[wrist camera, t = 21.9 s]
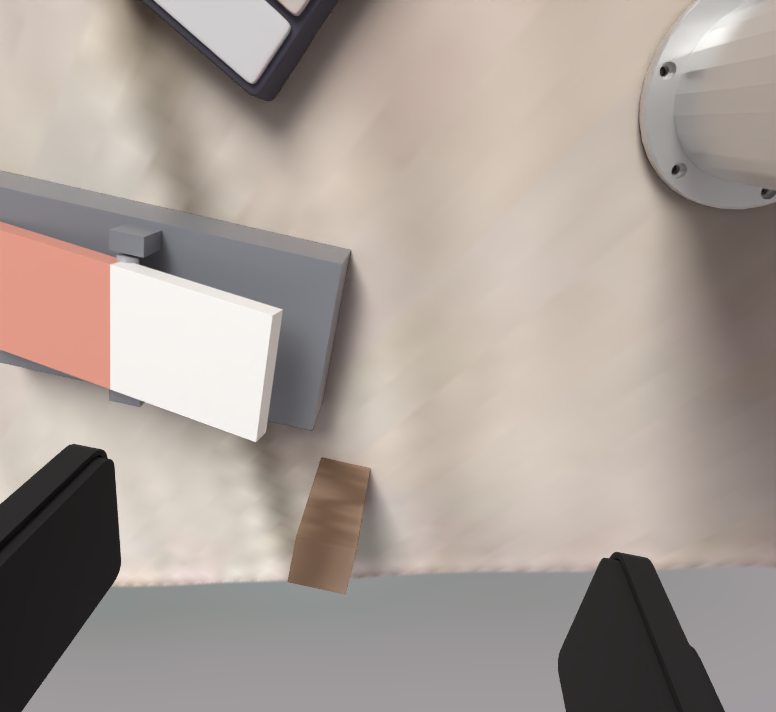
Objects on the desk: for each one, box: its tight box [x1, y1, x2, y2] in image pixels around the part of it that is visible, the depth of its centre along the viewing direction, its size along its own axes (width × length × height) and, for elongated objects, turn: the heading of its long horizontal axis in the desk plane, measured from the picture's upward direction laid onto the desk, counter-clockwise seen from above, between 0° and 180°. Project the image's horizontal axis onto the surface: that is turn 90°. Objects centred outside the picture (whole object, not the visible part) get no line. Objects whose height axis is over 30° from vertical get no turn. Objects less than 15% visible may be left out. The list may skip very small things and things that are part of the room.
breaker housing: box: [0, 171, 351, 431], centre depth 35 cm, size 24×12×6 cm, turn 78°
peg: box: [288, 458, 370, 594], centre depth 39 cm, size 4×4×9 cm
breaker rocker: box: [0, 222, 283, 442], centre depth 32 cm, size 20×8×2 cm, turn 78°
